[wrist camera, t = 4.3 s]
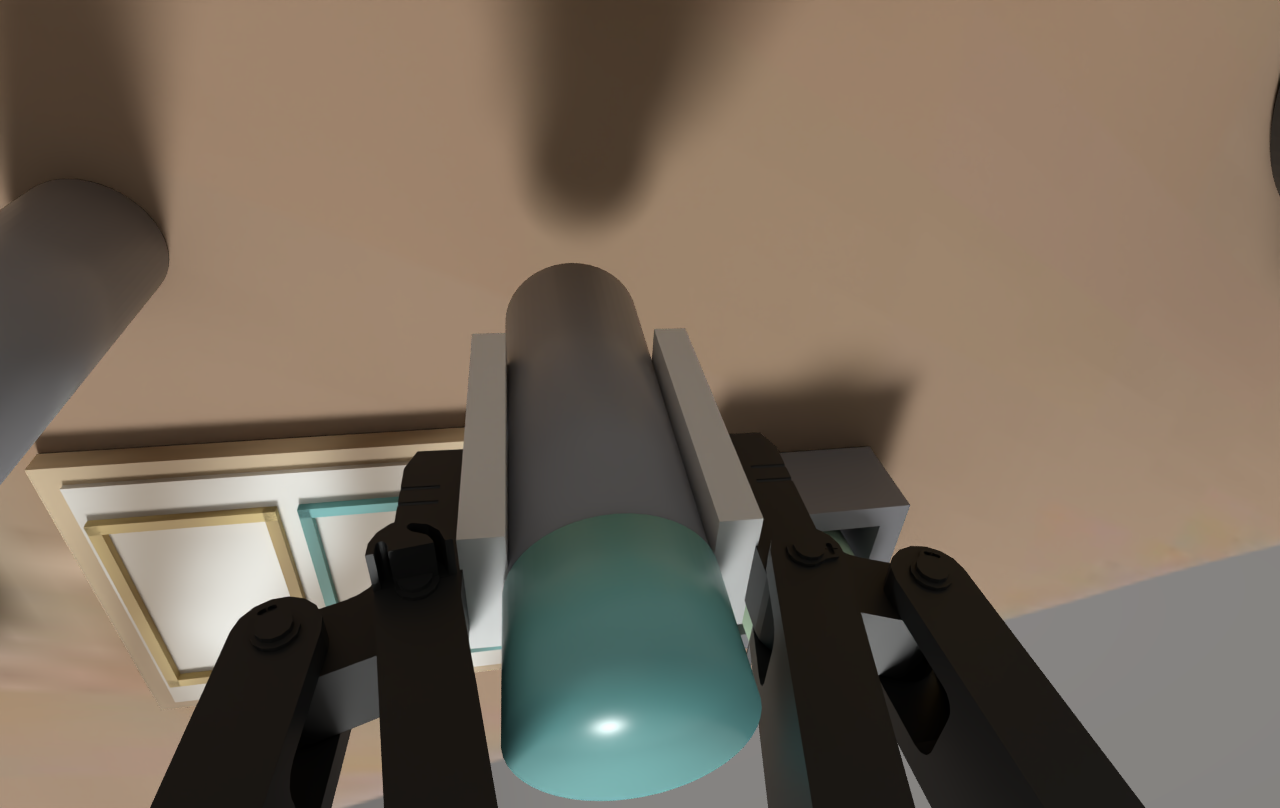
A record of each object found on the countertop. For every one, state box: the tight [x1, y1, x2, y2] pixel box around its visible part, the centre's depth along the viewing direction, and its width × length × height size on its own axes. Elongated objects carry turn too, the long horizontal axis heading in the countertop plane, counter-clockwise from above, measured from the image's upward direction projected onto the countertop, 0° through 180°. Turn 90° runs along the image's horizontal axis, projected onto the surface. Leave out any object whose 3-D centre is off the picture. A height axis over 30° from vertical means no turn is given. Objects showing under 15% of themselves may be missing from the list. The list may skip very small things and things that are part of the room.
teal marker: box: [501, 263, 762, 801], centre depth 15 cm, size 4×4×12 cm
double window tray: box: [25, 427, 502, 710], centre depth 28 cm, size 18×13×1 cm
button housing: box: [737, 446, 910, 648], centre depth 30 cm, size 8×8×4 cm
